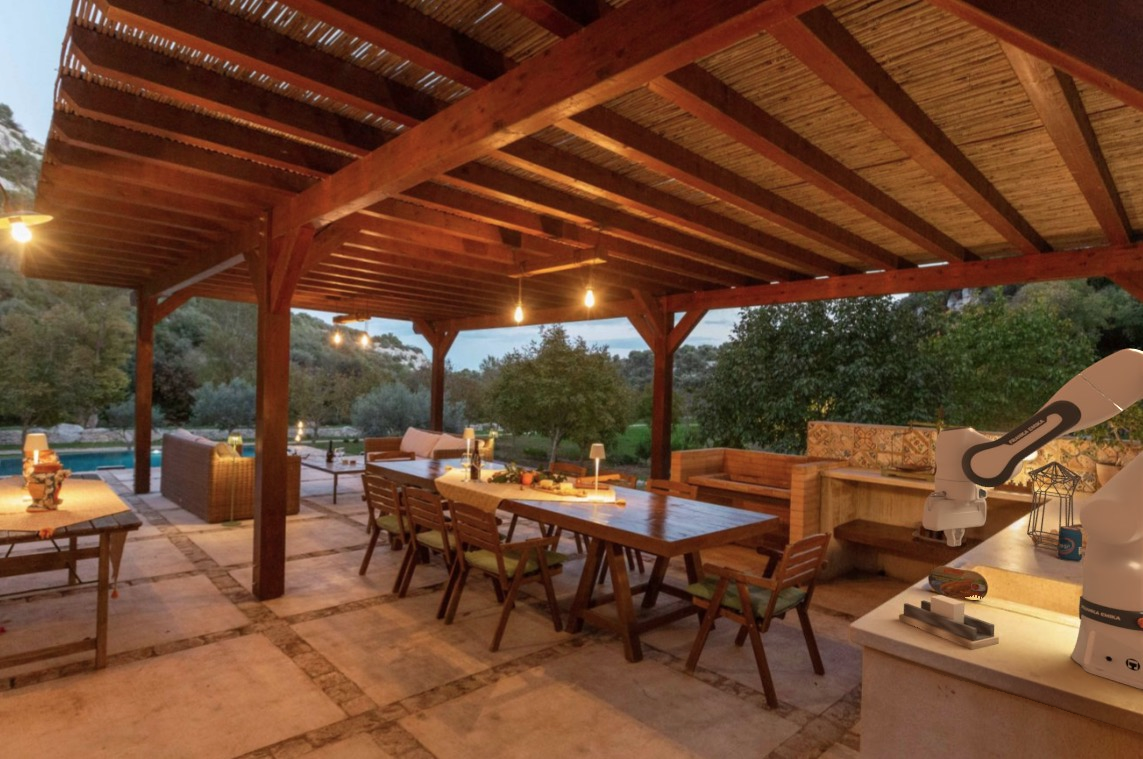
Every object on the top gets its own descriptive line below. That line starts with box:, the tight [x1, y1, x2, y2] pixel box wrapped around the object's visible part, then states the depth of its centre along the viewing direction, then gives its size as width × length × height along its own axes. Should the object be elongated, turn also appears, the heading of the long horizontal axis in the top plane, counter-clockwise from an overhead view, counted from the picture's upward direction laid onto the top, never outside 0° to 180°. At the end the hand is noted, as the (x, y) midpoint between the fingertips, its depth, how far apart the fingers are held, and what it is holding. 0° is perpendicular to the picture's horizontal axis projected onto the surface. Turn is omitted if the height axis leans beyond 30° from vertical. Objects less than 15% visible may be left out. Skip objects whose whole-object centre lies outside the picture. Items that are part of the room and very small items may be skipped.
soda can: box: [1057, 525, 1083, 563], centre depth 232 cm, size 7×7×12 cm
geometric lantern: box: [1026, 461, 1083, 552], centre depth 251 cm, size 16×16×35 cm
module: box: [930, 594, 965, 624], centre depth 156 cm, size 6×4×6 cm, turn 25°
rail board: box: [898, 600, 1000, 650], centre depth 156 cm, size 19×10×4 cm, turn 25°
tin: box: [928, 565, 989, 600], centre depth 184 cm, size 15×3×8 cm, turn 50°
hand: (954, 545), depth 156 cm, fingers closed
